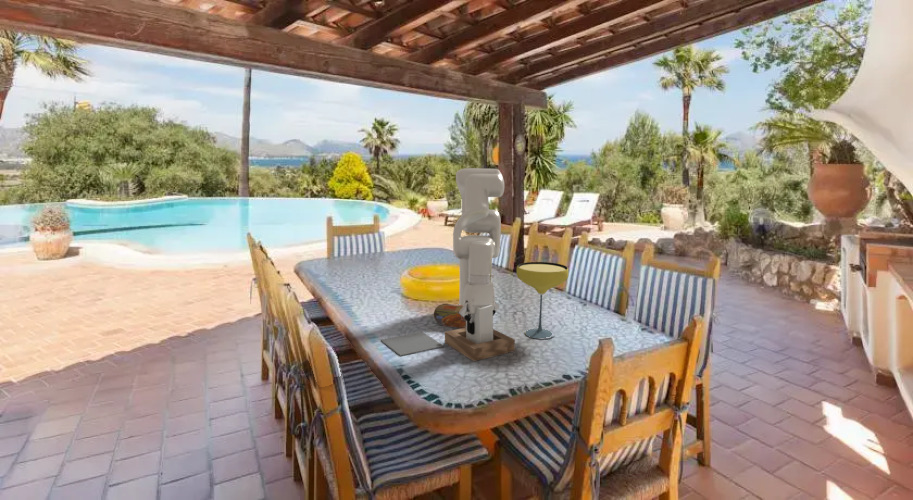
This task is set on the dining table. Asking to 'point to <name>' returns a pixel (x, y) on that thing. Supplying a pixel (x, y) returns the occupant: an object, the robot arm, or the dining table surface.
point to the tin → (449, 315)
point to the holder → (480, 350)
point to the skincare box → (482, 325)
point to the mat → (411, 343)
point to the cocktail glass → (541, 284)
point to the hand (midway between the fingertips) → (479, 331)
